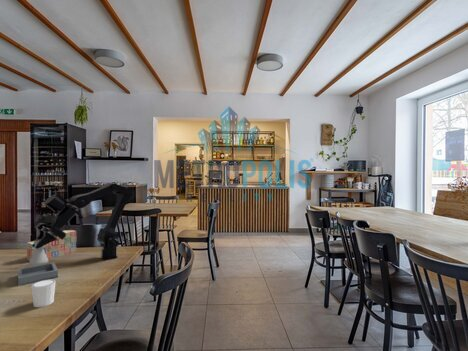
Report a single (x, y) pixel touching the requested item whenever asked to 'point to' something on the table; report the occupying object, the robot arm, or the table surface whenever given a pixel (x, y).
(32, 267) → the tray
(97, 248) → the table surface
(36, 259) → the light grey vase
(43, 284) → the white cup
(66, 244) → the stack of blocks
